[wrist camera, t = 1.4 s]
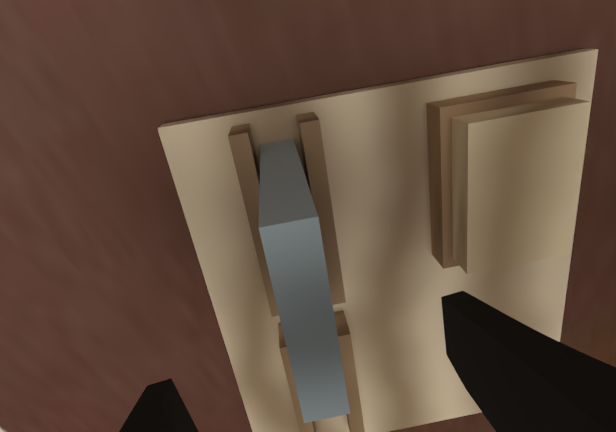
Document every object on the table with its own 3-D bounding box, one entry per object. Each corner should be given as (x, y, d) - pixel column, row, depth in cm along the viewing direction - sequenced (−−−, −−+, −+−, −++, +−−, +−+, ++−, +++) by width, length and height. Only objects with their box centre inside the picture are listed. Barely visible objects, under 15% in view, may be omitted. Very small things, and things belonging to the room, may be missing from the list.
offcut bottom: (553, 79, 18) (577, 82, 17) (539, 233, 21) (558, 246, 20) (426, 102, 18) (439, 107, 17) (431, 254, 21) (443, 268, 20)
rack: (581, 48, 19) (636, 49, 16) (543, 386, 28) (573, 423, 25) (162, 124, 18) (144, 137, 15) (261, 444, 27) (260, 488, 24)
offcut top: (564, 96, 17) (591, 101, 16) (549, 239, 20) (570, 253, 19) (451, 117, 17) (468, 123, 16) (452, 258, 20) (467, 274, 18)
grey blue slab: (293, 138, 18) (318, 216, 10) (316, 268, 21) (350, 413, 13) (260, 144, 18) (258, 227, 10) (287, 273, 21) (304, 423, 13)
